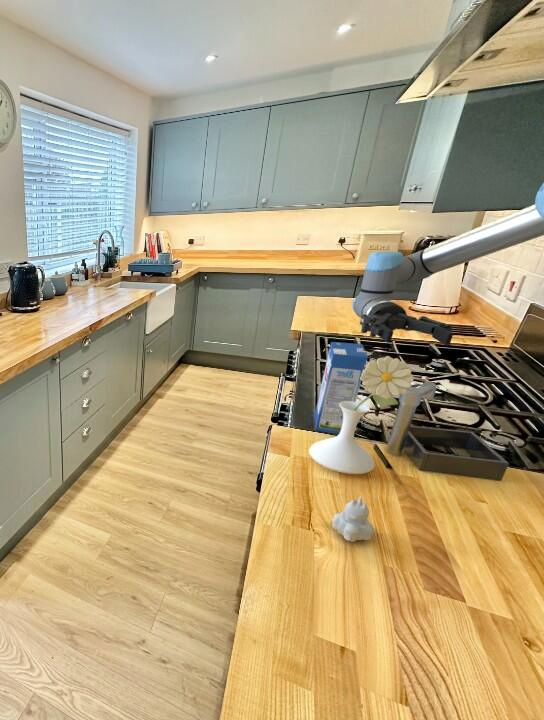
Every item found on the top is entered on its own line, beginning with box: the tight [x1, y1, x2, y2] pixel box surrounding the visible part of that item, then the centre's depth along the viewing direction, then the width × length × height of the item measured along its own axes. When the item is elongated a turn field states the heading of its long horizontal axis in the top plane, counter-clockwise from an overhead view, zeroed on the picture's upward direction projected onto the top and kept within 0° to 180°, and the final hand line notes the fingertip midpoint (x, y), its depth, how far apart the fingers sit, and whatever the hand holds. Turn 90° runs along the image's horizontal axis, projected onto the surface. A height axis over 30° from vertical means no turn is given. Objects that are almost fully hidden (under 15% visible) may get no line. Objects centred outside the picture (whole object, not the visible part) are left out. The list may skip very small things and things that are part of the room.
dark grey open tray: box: [402, 425, 510, 482], centre depth 86 cm, size 12×12×6 cm
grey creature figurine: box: [331, 495, 374, 543], centre depth 69 cm, size 5×7×8 cm
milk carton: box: [314, 341, 369, 435], centre depth 101 cm, size 10×6×20 cm, turn 149°
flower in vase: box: [308, 355, 414, 475], centre depth 84 cm, size 13×11×25 cm
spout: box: [398, 381, 437, 407], centre depth 86 cm, size 11×3×4 cm, turn 119°
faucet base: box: [373, 402, 418, 469], centre depth 87 cm, size 4×8×13 cm, turn 159°
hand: (419, 338), depth 95 cm, fingers open, 10 cm apart
